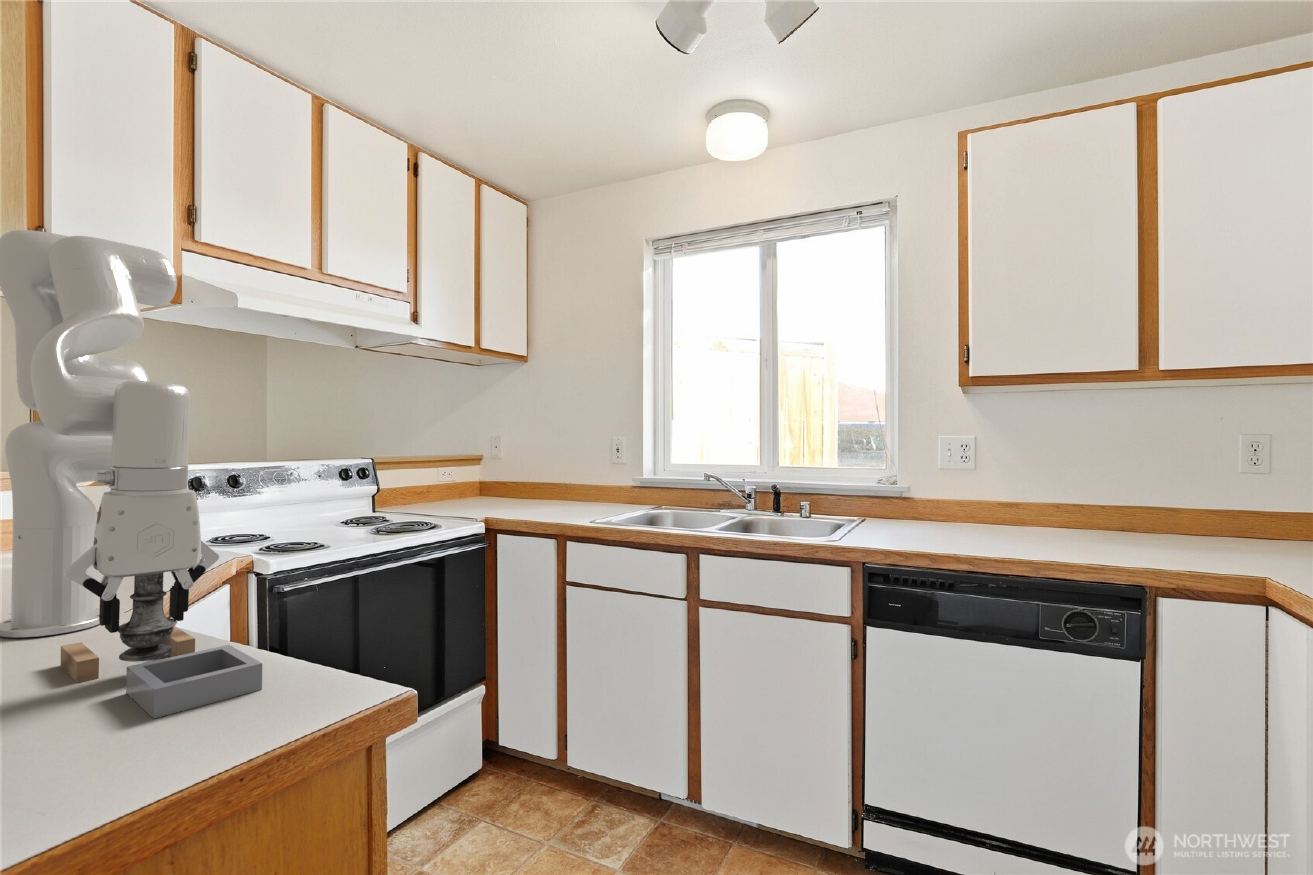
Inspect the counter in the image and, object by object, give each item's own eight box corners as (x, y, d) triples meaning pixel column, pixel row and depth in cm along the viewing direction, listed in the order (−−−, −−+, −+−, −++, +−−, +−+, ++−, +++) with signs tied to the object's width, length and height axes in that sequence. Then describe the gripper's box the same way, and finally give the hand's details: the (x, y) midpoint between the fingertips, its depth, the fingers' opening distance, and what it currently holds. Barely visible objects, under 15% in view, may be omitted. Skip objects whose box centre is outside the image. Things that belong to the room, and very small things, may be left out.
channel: (60, 665, 83) (60, 646, 83) (172, 642, 92) (173, 625, 92) (77, 682, 77) (77, 661, 77) (194, 656, 87) (195, 638, 87)
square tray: (126, 693, 74) (126, 666, 74) (228, 668, 82) (228, 644, 82) (154, 718, 68) (154, 689, 68) (261, 689, 76) (262, 663, 76)
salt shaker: (142, 665, 76) (146, 565, 76) (102, 658, 77) (105, 560, 77) (187, 648, 82) (191, 555, 82) (150, 642, 83) (153, 551, 83)
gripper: (64, 486, 71) (58, 648, 71) (239, 481, 84) (234, 616, 85) (49, 480, 75) (44, 632, 76) (218, 475, 89) (213, 604, 89)
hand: (145, 622), depth 80 cm, fingers closed on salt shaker, 5 cm apart
